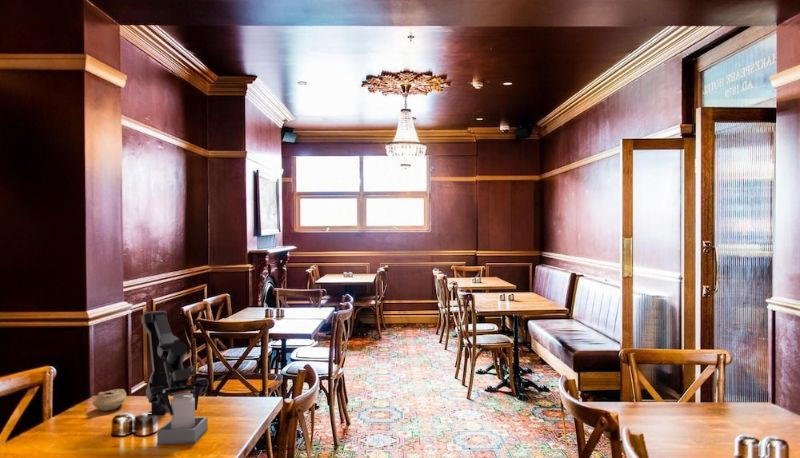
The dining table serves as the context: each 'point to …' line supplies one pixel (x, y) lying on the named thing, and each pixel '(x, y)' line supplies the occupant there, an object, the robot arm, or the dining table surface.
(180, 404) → the can
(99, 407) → the oil lamp
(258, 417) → the dining table surface
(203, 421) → the open box
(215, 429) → the dining table surface
